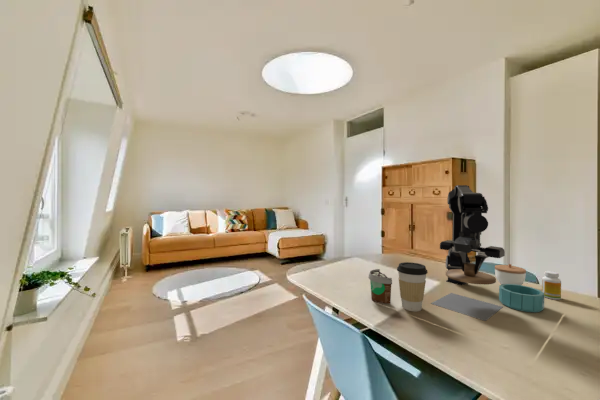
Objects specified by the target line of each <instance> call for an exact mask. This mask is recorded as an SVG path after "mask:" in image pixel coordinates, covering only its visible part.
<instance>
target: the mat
mask: <svg viewBox="0 0 600 400" xmlns="http://www.w3.org/2000/svg"><path fill="white" fill-rule="evenodd" d="M430 304H431V305H434V306H436V307H437V306H438V307H440V308H443V309H447V310H448V311H449V310H450V311H453V312H456V313H459V314H462V315H465V316H468V317H471V318H475V319H478V320H480V321H484V322H486V321H487V320H490V318H491V317H492V316H494V315H495V314H496V313H497V312H498V311H500V310H501V309H503V306H501V305H498V304H495V303H491V302H487V301H483V300H479V299H475V298H473V297H468V296H465V295H460V294H458V293H454V292H450V293H448V294H445V295H444V296H442V297H440V298H438V299H437V300H434V301H433V302H431V303H430Z"/></svg>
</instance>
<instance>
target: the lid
mask: <svg viewBox="0 0 600 400" xmlns="http://www.w3.org/2000/svg"><path fill="white" fill-rule="evenodd" d="M445 276H446V277H447V278H448V277H449V278H451V279H454V280H457V281H460V282H465V284H472V285H473V284H474V285H483V286H485V285H494V284H496V283H497V278H496V276H494V275H492V274H489V273H486V272H481V271H478V273H477V274H475V263H472V262H470V263H464V272H463V271H462V269H451V270H448V269H447V270H446V271H445Z"/></svg>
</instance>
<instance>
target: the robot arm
mask: <svg viewBox="0 0 600 400" xmlns="http://www.w3.org/2000/svg"><path fill="white" fill-rule="evenodd" d="M485 197H486V196H484V195H483V193H482V192H481V193H480V192H474V191H472V189H471V188H470V186H469V185H466V184H465V185H464V184H458V185H455V186H454V188H453V189H452V190H450V191H449V192H448V193H447V199H446V200H447V201H446V203H447V205H448V209H449V210H450V211H451V213H452V235H451V236H452V237H451V240H447V239H446V240H443V241H440V244H439V249H440V250H442V251H443V250H444V251H447V255H446V258H445V268H446V269H447V270H451V269H462V271H463V272H464V263H471V260H470V257H469V255H468V254H470V253H471V252H475V253H477V254H475V255H474V258H475V263H474V264H475V274H477V273H478V272H480V269H481V267H482V265H483V263H484V262H485V260H486V259H487V258H495V259H502V258H503V257H505V254H506V253H505V252H506V251H505V248H503V247H500V246H493V245H489V246H486V247H482V243H481V236H482V232H484V231H486V230H487V229H488V226H489V222H488V219H487V218H486V217H485V216H484V215H482V214H488V211H489V206H488V203H487V199H486V198H485ZM445 281H446V282H447V283H450V284H451V283H452V284H455V285H460V286H463V285H465V284H466V283H465V282H460V281H457V280H454V279H451V278H449V277H447V279H446V280H445Z"/></svg>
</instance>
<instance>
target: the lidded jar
mask: <svg viewBox="0 0 600 400" xmlns="http://www.w3.org/2000/svg"><path fill="white" fill-rule="evenodd" d="M494 273H495V274H494V275H495V278H496V281H498V283H500V285H501V284H517V285H524V283H525V280H526V274H527V270H526V269H525V268H523V267H519V266H516V265H512V263H508V264H496V265H494Z"/></svg>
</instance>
